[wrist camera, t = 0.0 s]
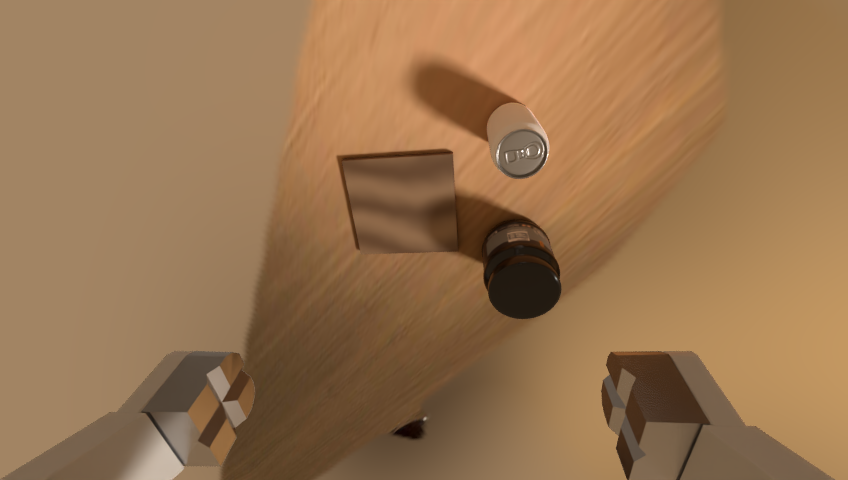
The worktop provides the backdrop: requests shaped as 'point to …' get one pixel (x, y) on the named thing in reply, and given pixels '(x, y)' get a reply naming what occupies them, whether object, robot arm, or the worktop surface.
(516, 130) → the can
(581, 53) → the worktop surface
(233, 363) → the robot arm
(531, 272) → the supplement container
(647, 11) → the worktop surface
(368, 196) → the walnut board
